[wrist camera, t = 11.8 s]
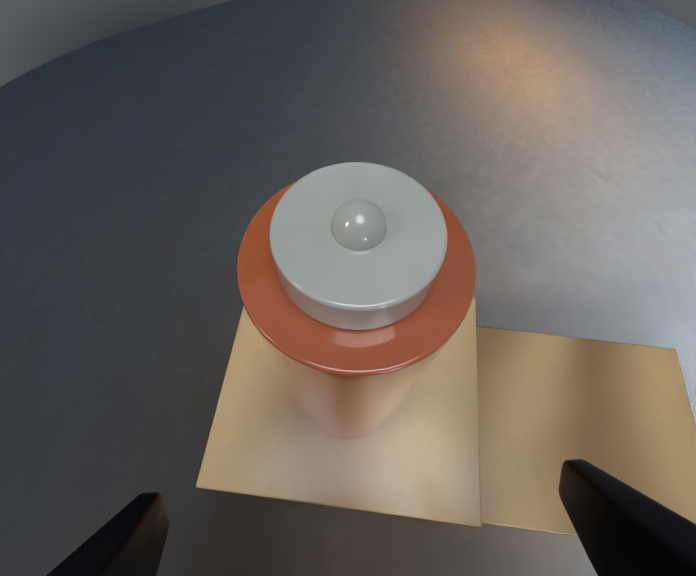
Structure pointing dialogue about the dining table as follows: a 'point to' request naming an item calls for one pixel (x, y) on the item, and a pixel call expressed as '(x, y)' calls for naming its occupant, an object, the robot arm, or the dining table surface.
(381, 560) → the dining table surface
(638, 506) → the robot arm
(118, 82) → the dining table surface
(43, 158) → the dining table surface
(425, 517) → the stand
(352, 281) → the pepper mill
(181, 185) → the dining table surface
